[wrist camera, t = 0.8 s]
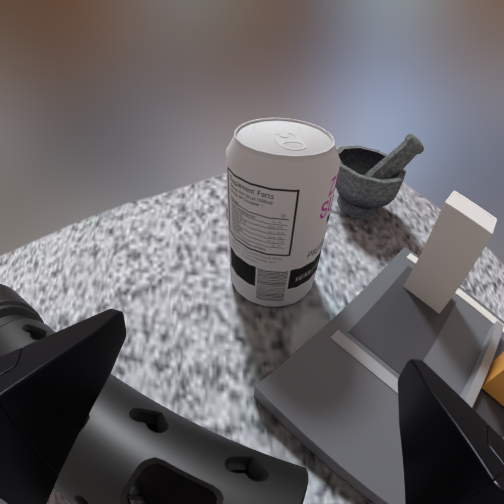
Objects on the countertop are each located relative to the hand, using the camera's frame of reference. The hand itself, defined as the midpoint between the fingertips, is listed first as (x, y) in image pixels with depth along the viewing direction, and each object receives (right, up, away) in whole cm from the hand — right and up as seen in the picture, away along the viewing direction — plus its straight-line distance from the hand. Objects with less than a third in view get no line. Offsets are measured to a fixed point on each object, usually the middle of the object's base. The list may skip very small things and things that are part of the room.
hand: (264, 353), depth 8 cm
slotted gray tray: (+19, -12, +9) cm, 25 cm away
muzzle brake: (-12, -12, +10) cm, 19 cm away
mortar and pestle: (+15, +9, +31) cm, 36 cm away
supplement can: (+2, 0, +22) cm, 22 cm away
